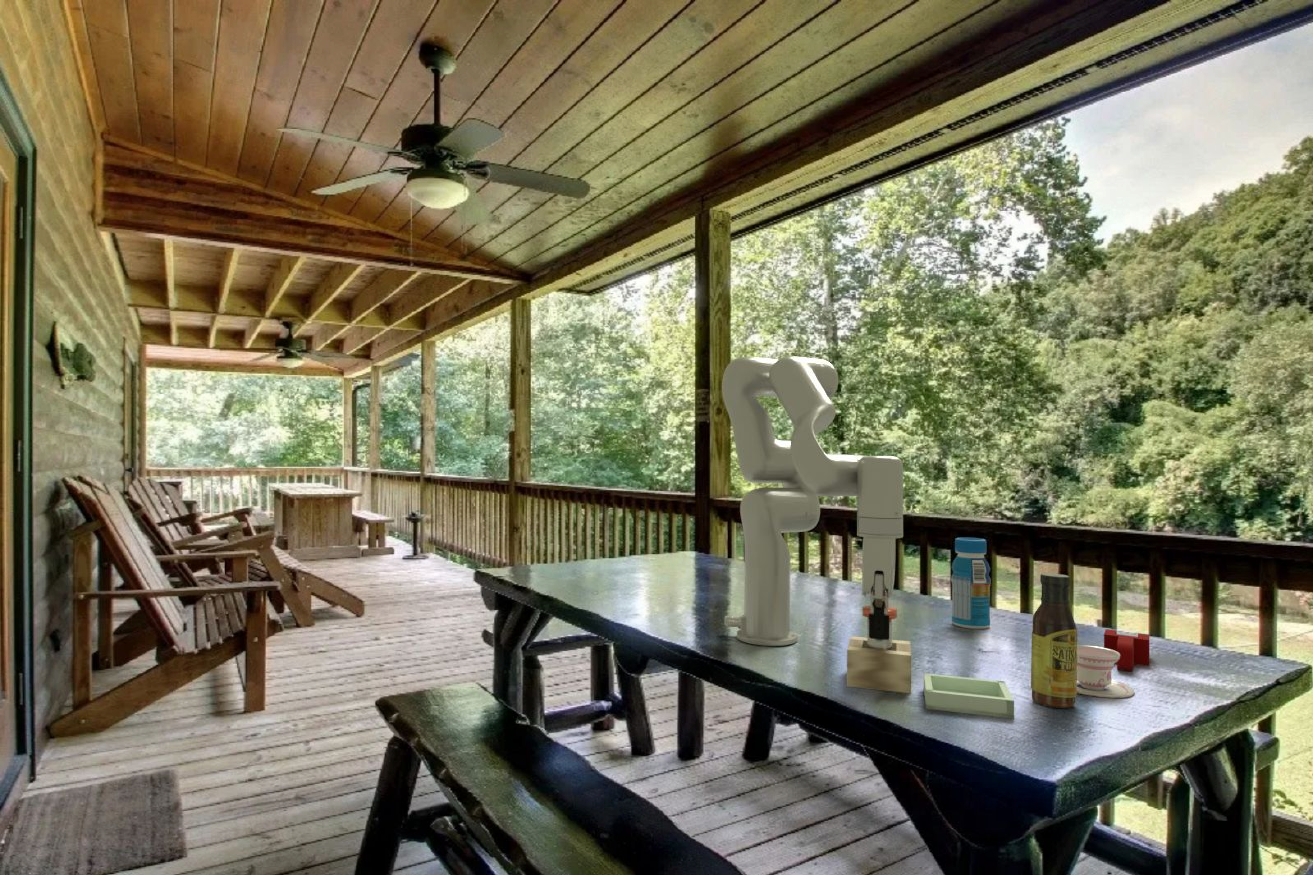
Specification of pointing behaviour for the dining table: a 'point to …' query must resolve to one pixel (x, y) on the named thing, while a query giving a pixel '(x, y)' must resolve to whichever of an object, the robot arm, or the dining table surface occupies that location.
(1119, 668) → the mechanical linkage
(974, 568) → the beverage bottle
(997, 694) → the tray
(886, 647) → the pin
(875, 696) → the dining table surface
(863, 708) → the dining table surface
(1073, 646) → the sauce bottle
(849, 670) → the socket block
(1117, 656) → the teacup
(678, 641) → the dining table surface
